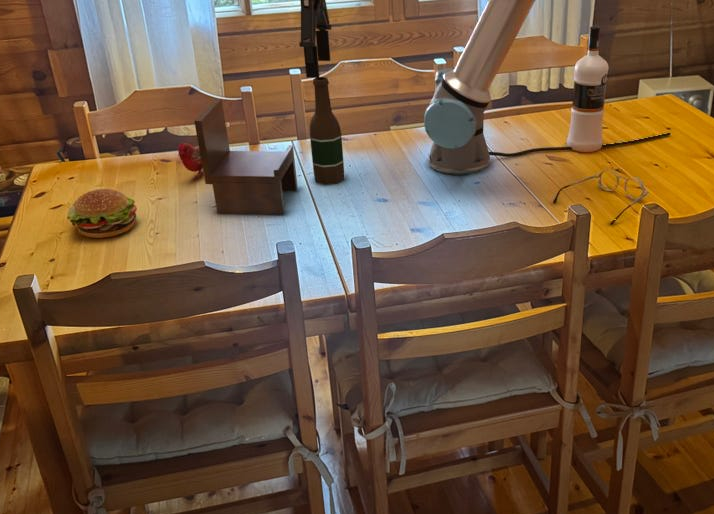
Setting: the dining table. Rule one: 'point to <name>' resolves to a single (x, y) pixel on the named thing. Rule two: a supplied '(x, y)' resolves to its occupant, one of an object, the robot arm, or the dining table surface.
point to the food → (103, 213)
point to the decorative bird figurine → (190, 158)
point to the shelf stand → (242, 169)
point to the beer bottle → (325, 138)
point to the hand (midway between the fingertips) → (318, 68)
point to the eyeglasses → (610, 190)
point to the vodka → (588, 98)
